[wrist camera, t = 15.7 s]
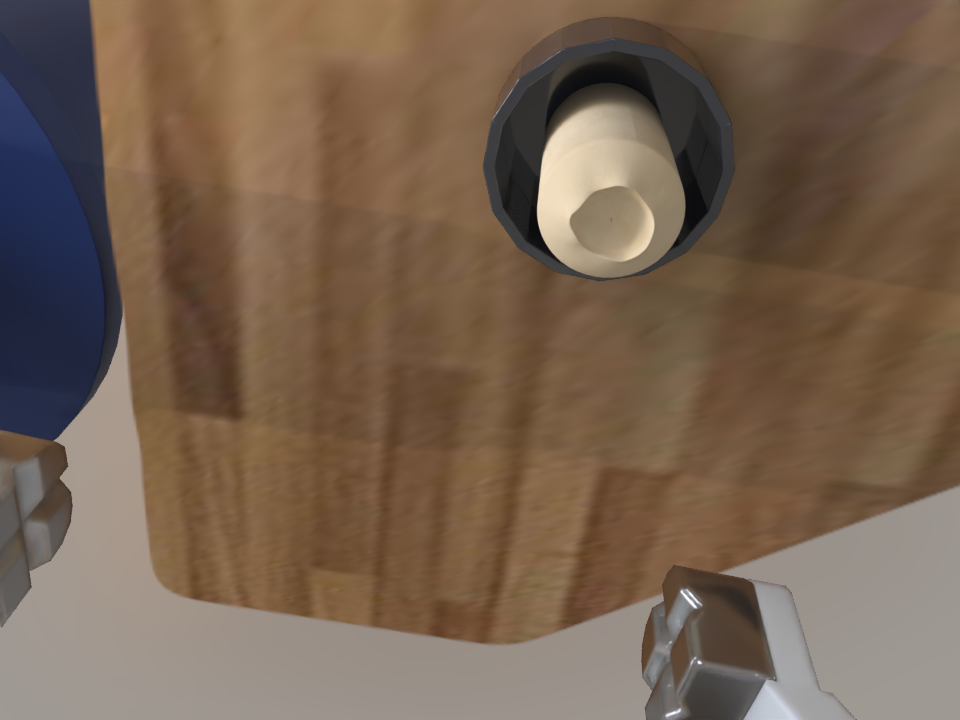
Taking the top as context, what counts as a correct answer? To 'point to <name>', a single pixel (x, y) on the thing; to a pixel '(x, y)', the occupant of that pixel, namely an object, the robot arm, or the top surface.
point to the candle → (608, 183)
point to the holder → (621, 60)
